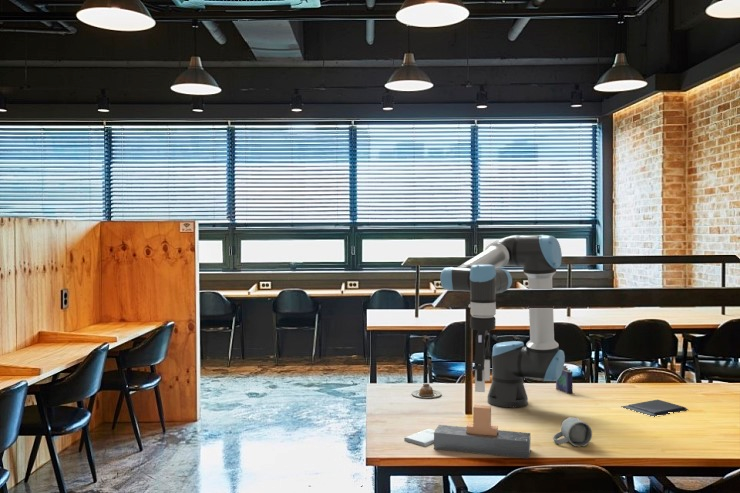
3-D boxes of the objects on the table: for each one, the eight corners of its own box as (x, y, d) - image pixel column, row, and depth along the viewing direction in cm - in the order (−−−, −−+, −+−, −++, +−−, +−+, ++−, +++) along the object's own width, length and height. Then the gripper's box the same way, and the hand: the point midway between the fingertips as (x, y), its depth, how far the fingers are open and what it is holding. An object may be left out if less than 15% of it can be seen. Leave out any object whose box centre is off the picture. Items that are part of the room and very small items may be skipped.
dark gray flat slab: (652, 414, 224) (619, 403, 237) (652, 419, 224) (619, 408, 238) (691, 407, 232) (656, 397, 246) (691, 412, 232) (656, 401, 246)
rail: (438, 440, 199) (438, 424, 199) (530, 449, 191) (530, 433, 191) (433, 448, 192) (433, 432, 191) (529, 458, 183) (529, 441, 183)
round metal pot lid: (441, 392, 259) (441, 381, 259) (441, 400, 247) (441, 388, 247) (412, 391, 261) (412, 380, 261) (410, 399, 249) (410, 387, 249)
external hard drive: (404, 442, 199) (427, 432, 209) (425, 448, 194) (448, 438, 203) (404, 437, 199) (427, 427, 208) (425, 442, 194) (448, 433, 203)
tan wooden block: (467, 442, 194) (468, 404, 194) (497, 445, 191) (497, 406, 191) (466, 446, 191) (466, 406, 191) (496, 449, 189) (496, 409, 188)
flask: (554, 388, 264) (554, 363, 263) (560, 388, 265) (560, 362, 264) (568, 394, 255) (569, 368, 255) (574, 393, 256) (575, 367, 256)
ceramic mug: (581, 438, 202) (581, 414, 202) (592, 446, 194) (592, 421, 193) (549, 439, 201) (548, 415, 201) (559, 448, 193) (558, 423, 192)
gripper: (475, 309, 203) (475, 375, 204) (464, 321, 179) (464, 395, 180) (499, 310, 201) (499, 376, 202) (490, 322, 177) (490, 397, 178)
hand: (482, 385), depth 191 cm, fingers open, 13 cm apart
